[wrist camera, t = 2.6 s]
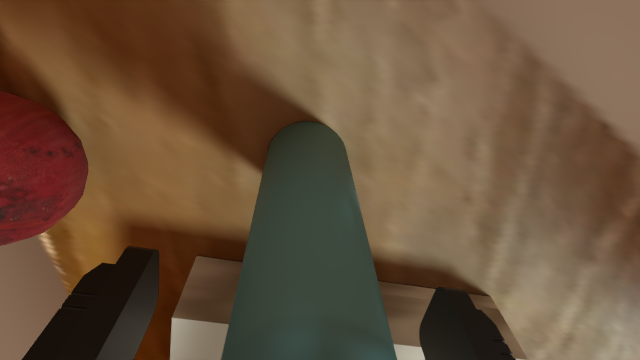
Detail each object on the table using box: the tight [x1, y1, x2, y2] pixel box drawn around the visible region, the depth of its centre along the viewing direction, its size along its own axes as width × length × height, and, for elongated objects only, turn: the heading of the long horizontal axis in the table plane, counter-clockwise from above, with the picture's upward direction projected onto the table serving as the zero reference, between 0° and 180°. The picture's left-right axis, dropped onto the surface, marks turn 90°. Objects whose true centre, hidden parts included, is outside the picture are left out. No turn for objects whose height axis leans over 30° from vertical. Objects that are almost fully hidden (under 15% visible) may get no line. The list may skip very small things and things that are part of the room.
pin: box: [221, 121, 397, 360], centre depth 14 cm, size 4×4×12 cm
